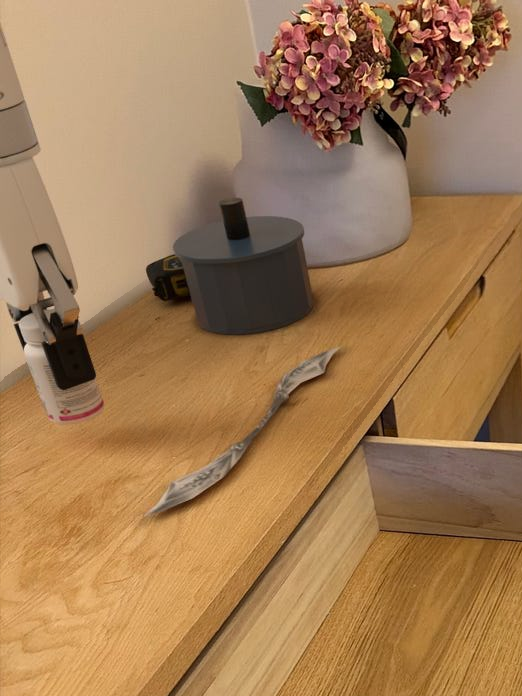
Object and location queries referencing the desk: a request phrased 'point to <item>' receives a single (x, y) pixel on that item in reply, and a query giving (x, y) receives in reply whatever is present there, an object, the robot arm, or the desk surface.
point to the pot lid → (238, 237)
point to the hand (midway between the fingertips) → (62, 371)
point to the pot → (251, 292)
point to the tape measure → (168, 278)
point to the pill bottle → (57, 403)
